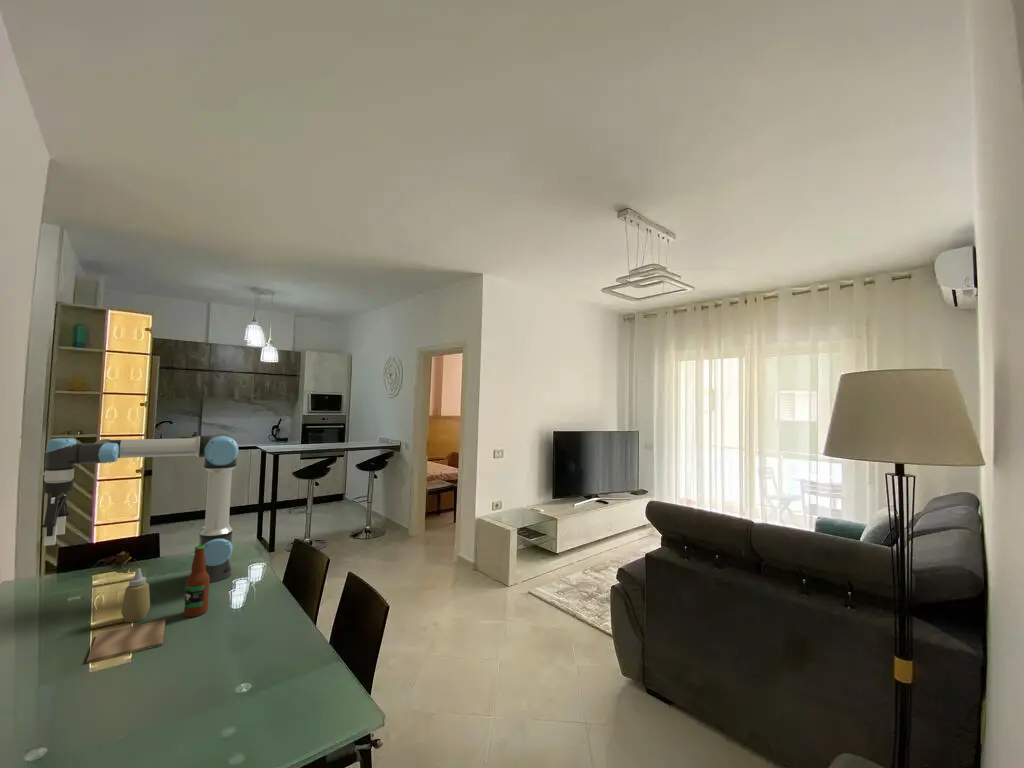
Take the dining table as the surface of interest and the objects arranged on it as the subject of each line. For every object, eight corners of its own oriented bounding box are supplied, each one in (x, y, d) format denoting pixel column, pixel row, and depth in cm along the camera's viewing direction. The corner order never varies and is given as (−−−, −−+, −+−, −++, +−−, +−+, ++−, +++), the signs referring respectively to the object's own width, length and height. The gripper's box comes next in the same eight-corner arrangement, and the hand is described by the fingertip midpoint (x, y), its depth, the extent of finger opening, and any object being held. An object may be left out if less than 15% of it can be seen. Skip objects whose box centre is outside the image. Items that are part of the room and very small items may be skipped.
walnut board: (165, 621, 158) (165, 619, 158) (162, 645, 144) (162, 642, 144) (97, 636, 148) (97, 633, 148) (86, 663, 133) (87, 660, 133)
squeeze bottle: (155, 614, 163) (158, 565, 164) (134, 625, 155) (137, 574, 156) (135, 612, 164) (138, 564, 164) (114, 623, 156) (117, 572, 156)
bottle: (179, 614, 164) (184, 547, 164) (201, 606, 170) (205, 541, 171) (190, 619, 160) (194, 551, 161) (211, 611, 167) (215, 545, 167)
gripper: (53, 476, 168) (49, 531, 167) (33, 488, 147) (29, 551, 147) (80, 474, 172) (76, 529, 171) (64, 486, 152) (60, 548, 151)
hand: (54, 539), depth 159 cm, fingers open, 13 cm apart
